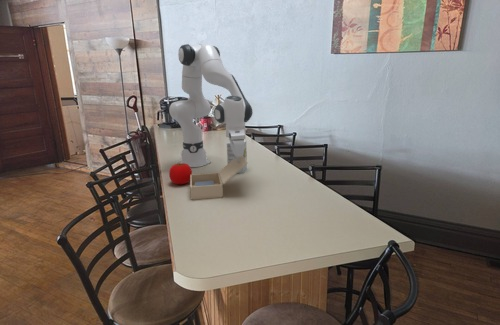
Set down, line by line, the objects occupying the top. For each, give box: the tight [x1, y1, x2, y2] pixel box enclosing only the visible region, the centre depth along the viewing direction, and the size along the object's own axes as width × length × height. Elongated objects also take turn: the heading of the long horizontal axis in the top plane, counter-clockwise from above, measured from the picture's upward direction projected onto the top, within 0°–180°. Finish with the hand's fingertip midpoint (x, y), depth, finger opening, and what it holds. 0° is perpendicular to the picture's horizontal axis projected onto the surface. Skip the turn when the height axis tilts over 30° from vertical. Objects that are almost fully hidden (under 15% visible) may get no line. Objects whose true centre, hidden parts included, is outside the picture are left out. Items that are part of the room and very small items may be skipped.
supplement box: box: [226, 139, 248, 174], centre depth 180 cm, size 10×9×17 cm
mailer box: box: [189, 172, 224, 201], centre depth 151 cm, size 18×14×6 cm
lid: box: [219, 156, 248, 185], centre depth 151 cm, size 18×14×1 cm
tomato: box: [168, 162, 193, 185], centre depth 162 cm, size 11×12×10 cm
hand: (237, 161), depth 150 cm, fingers closed, pressing on lid
